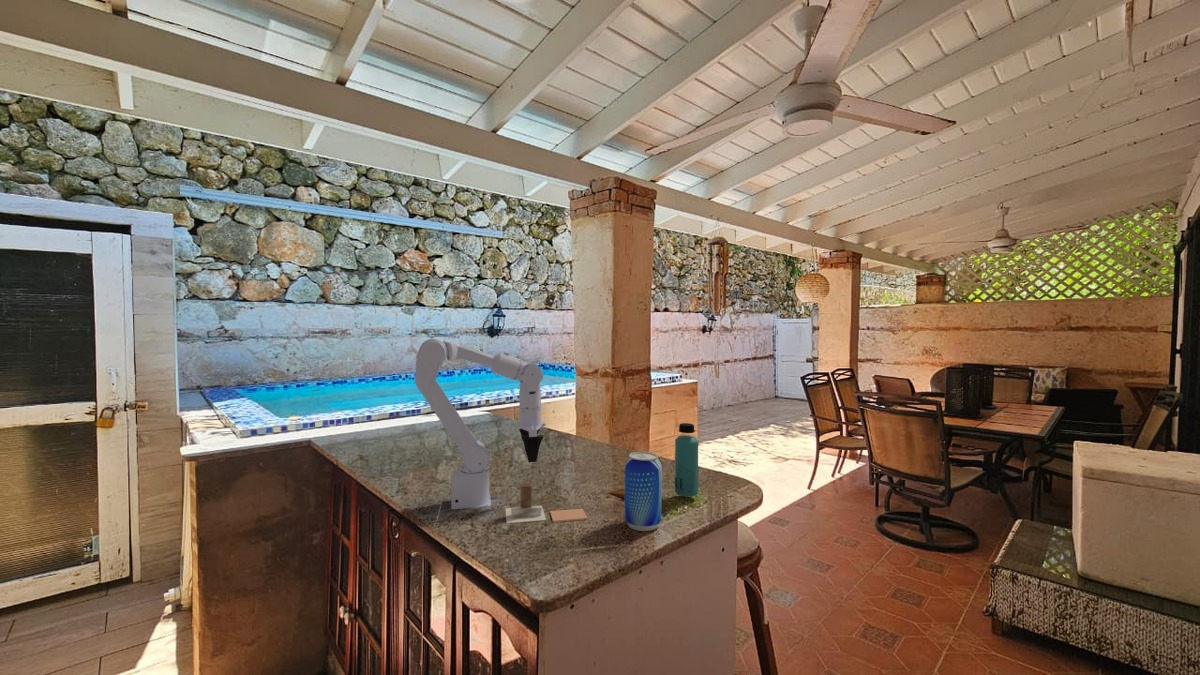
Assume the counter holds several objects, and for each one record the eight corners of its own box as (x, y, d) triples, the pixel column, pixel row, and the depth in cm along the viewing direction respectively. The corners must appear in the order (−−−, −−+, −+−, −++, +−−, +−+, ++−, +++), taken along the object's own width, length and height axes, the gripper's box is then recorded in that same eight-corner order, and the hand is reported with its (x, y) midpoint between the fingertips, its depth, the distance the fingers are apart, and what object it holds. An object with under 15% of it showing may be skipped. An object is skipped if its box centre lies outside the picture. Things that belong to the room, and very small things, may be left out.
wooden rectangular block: (511, 518, 108) (511, 488, 108) (510, 513, 111) (510, 484, 111) (541, 515, 110) (541, 486, 110) (539, 510, 113) (540, 482, 113)
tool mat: (506, 525, 105) (506, 523, 105) (505, 510, 114) (505, 508, 114) (546, 521, 108) (546, 519, 108) (541, 507, 116) (541, 505, 116)
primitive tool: (607, 494, 128) (608, 481, 128) (622, 490, 131) (623, 478, 131) (656, 516, 112) (657, 501, 112) (672, 511, 116) (672, 497, 116)
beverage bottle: (702, 496, 125) (702, 423, 125) (693, 504, 119) (694, 427, 119) (679, 492, 128) (680, 420, 128) (669, 499, 123) (670, 424, 123)
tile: (550, 516, 112) (553, 526, 106) (550, 511, 112) (553, 520, 106) (582, 513, 114) (587, 523, 108) (582, 508, 114) (587, 517, 108)
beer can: (664, 520, 109) (665, 452, 109) (657, 535, 101) (657, 461, 101) (630, 515, 112) (630, 449, 111) (620, 529, 104) (620, 458, 103)
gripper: (548, 411, 118) (549, 464, 118) (542, 402, 132) (543, 450, 132) (520, 412, 116) (521, 466, 116) (517, 403, 130) (518, 451, 130)
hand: (531, 457), depth 124 cm, fingers open, 7 cm apart
